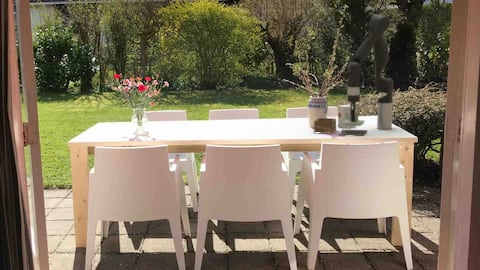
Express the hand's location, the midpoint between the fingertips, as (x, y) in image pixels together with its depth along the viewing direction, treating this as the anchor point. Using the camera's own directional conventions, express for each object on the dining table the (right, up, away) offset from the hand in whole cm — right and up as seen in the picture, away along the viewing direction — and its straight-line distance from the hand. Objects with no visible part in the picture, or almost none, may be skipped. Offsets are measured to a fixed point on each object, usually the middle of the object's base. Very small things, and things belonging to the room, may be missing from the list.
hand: (353, 121), depth 321 cm
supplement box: (+1, -4, +24) cm, 25 cm away
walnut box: (-16, -7, +10) cm, 20 cm away
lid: (0, -2, 0) cm, 2 cm away
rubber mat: (0, -7, +2) cm, 8 cm away
